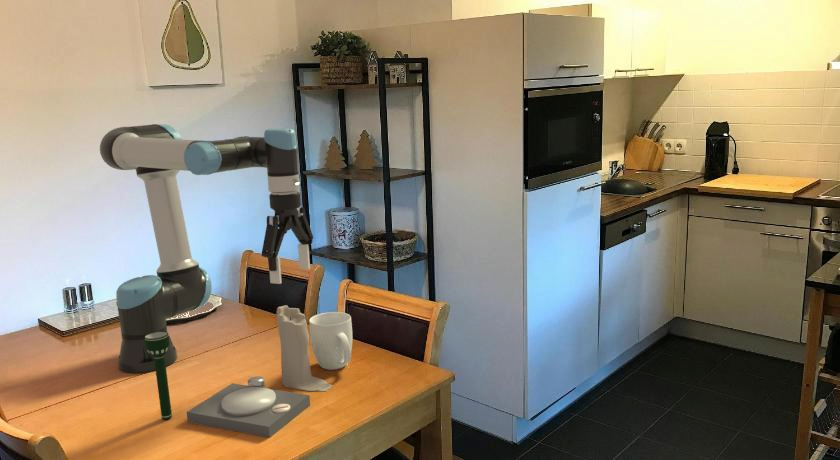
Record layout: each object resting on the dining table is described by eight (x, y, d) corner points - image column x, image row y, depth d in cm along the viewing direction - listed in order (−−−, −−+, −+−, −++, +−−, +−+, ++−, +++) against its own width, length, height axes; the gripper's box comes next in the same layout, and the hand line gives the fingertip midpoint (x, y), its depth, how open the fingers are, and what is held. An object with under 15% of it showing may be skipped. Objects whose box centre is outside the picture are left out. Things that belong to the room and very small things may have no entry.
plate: (238, 309, 235) (238, 302, 234) (156, 333, 214) (155, 326, 214) (195, 295, 255) (195, 288, 254) (117, 315, 234) (116, 308, 234)
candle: (321, 394, 164) (314, 315, 160) (276, 385, 171) (269, 308, 167) (338, 383, 170) (333, 306, 166) (295, 374, 177) (288, 300, 173)
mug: (368, 370, 177) (365, 322, 174) (330, 382, 171) (326, 332, 169) (342, 354, 189) (339, 308, 187) (305, 364, 183) (302, 317, 181)
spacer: (245, 391, 168) (244, 381, 168) (255, 384, 172) (254, 375, 172) (258, 393, 167) (257, 383, 166) (268, 386, 170) (267, 377, 170)
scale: (187, 422, 153) (185, 406, 152) (233, 392, 167) (231, 378, 167) (269, 437, 144) (268, 421, 144) (310, 405, 159) (309, 390, 158)
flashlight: (166, 411, 159) (155, 329, 155) (183, 414, 157) (173, 332, 153) (150, 421, 154) (138, 337, 150) (167, 425, 152) (156, 339, 148)
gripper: (269, 200, 155) (276, 290, 159) (322, 185, 178) (328, 264, 182) (241, 200, 158) (249, 288, 162) (297, 184, 181) (303, 262, 185)
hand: (291, 275), depth 172 cm, fingers open, 13 cm apart
